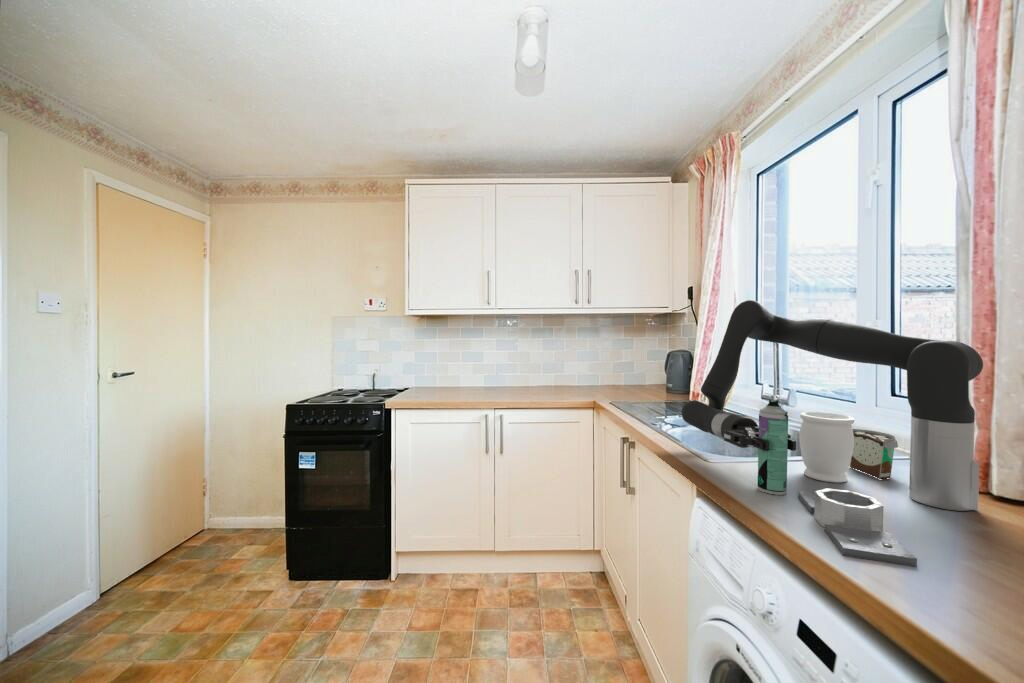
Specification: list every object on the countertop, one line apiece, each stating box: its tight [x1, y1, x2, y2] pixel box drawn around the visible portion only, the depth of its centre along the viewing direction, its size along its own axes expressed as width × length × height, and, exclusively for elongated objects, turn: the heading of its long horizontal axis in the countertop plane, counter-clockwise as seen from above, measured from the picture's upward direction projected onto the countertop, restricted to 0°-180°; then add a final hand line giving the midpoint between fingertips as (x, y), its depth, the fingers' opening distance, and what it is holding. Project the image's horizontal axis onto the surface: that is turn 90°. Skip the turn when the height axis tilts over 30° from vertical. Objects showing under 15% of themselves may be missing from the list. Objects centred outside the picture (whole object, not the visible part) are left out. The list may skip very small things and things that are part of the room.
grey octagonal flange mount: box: [797, 487, 918, 568], centre depth 78 cm, size 9×26×5 cm, turn 160°
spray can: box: [757, 398, 789, 496], centre depth 95 cm, size 6×6×20 cm
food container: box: [849, 428, 899, 479], centre depth 107 cm, size 12×6×10 cm, turn 179°
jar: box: [798, 411, 855, 484], centre depth 104 cm, size 11×10×15 cm
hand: (780, 446), depth 92 cm, fingers closed on spray can, 5 cm apart
